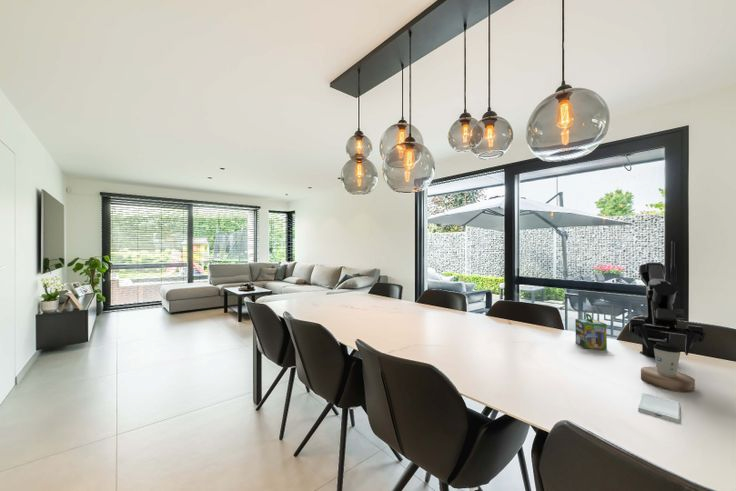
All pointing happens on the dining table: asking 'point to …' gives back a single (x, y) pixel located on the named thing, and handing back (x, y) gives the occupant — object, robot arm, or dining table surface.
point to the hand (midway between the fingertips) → (667, 351)
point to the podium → (668, 380)
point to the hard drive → (660, 407)
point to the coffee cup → (666, 358)
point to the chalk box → (591, 333)
